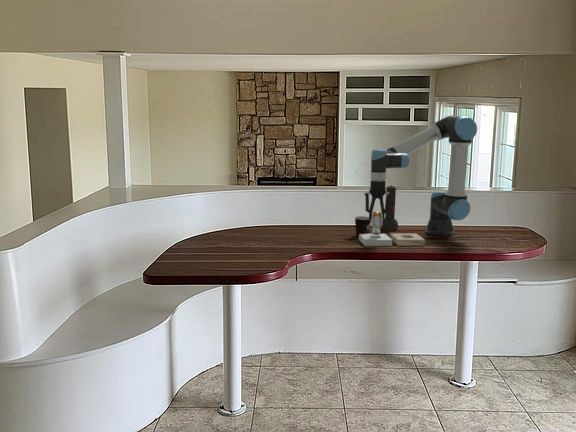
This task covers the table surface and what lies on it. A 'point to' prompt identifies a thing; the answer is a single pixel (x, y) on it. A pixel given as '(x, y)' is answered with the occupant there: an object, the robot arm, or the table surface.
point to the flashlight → (390, 212)
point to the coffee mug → (362, 225)
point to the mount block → (375, 240)
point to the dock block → (407, 239)
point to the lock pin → (376, 223)
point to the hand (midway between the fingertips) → (376, 225)
